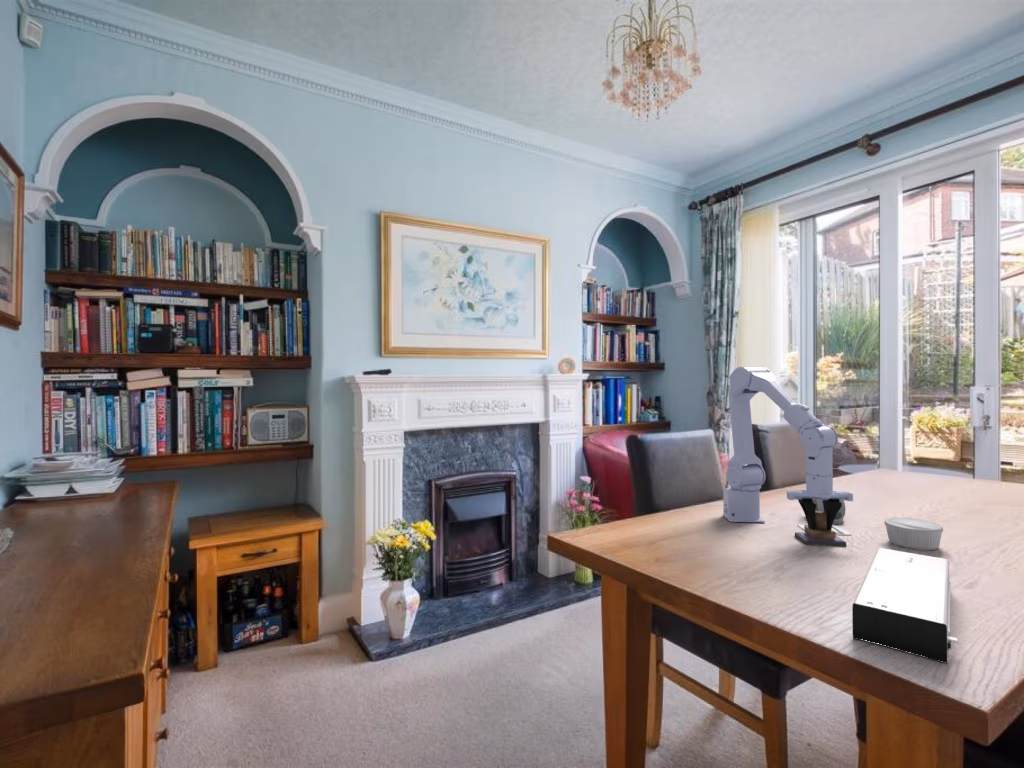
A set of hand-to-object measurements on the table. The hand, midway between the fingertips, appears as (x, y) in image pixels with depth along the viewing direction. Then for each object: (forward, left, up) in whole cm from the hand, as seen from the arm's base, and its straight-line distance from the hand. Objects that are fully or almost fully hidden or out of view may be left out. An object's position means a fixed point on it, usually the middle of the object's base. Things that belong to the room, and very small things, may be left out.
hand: (819, 528), depth 127 cm
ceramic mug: (+11, +22, -3) cm, 24 cm away
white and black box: (-2, -40, -4) cm, 40 cm away
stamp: (0, 0, -2) cm, 2 cm away
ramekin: (+21, 0, -3) cm, 21 cm away
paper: (+5, +10, -3) cm, 12 cm away
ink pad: (0, 0, -3) cm, 3 cm away
